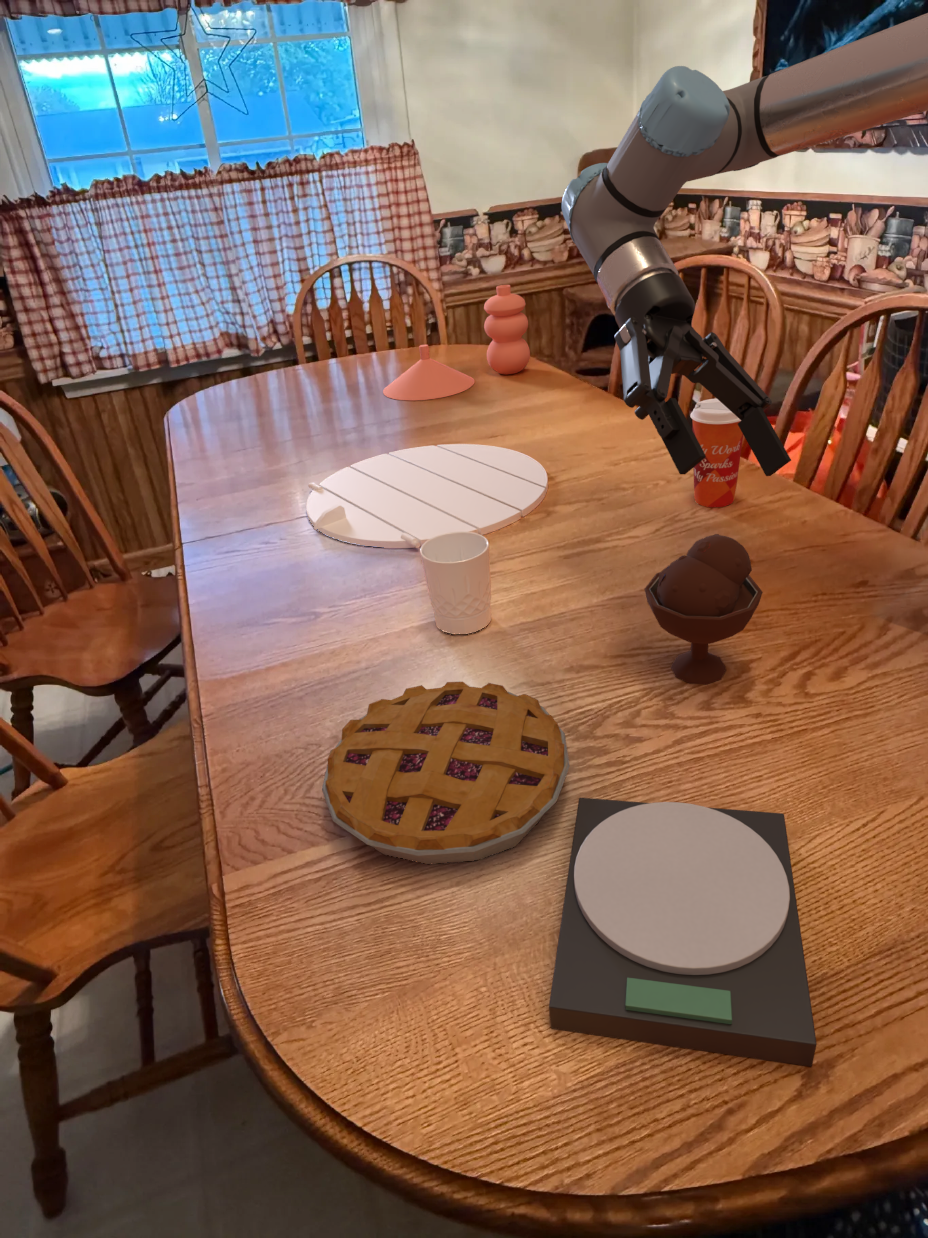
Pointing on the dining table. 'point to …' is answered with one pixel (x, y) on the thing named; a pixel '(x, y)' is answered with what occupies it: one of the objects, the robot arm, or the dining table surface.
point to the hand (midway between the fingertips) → (738, 467)
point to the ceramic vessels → (502, 354)
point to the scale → (683, 932)
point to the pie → (446, 772)
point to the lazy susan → (426, 494)
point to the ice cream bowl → (704, 603)
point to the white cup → (458, 580)
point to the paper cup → (716, 453)
